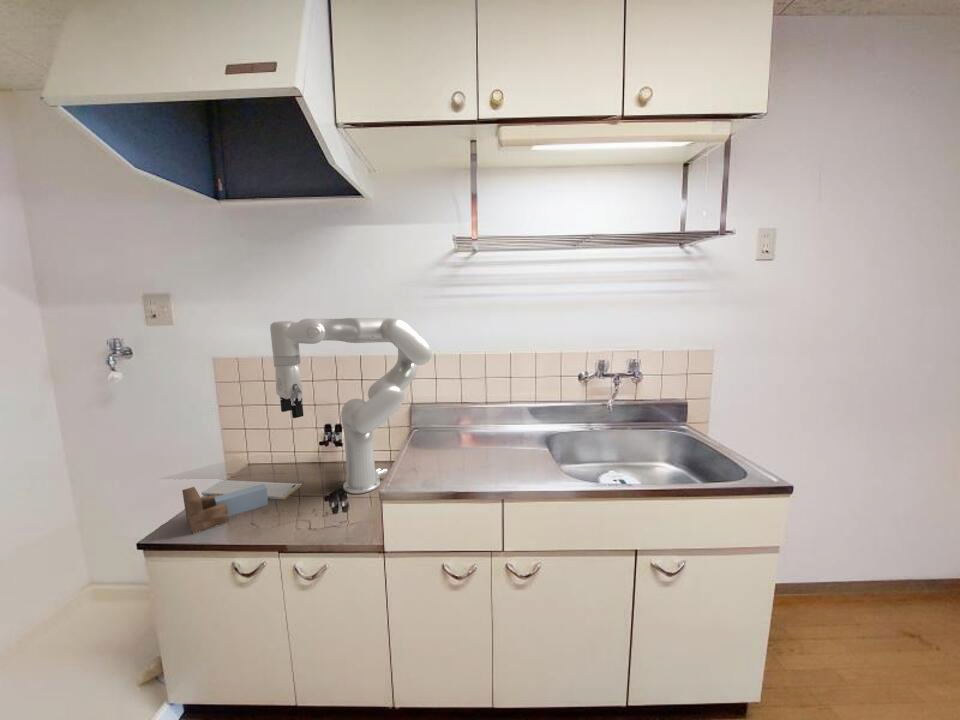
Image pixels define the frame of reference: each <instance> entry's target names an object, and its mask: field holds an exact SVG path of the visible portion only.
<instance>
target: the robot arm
mask: <svg viewBox="0 0 960 720" xmlns="http://www.w3.org/2000/svg"><path fill="white" fill-rule="evenodd" d="M269 329H270V330H269V331H270V340H271V349H272V358H273V368H275V374H274V375H275V392H276V395H278V396H279V399H280V400H279V402H280V410H281V412H283V413H284V412H290V411H291V417H292V419H297V418H302V417H304V406H303V403H304V402H303V385H302V378H301V372H300V367H299V366H302V365H301V364H302V363H301V354H300V344H303V345H304V344H306V345H307V344H308V345H315V344H318V343H320V342H322V341H333V342H334V341H336V342H345V343H349V344H352V343H353V344H366V343H367V344H369V343H370V344H371V343H391V344H393V345H394V347H396V349H397V361H396V363H395V364H394V366H393V367H391V369H390V370H388V372H387V373H385V374H384V375H383V376H381V377H380V378H379V379H378V380H376V381H374V383H372V384H371V385H370V387H369V389H368V391H367V396H368V400H367V401H365V400H363V399H361V398H351V399H349V400H347V401H346V402H345V403H344V404H343V406H342V408H341V411H340V412H341V413H340V414H341V415H340V416H341V417H340V419H341V423H342V429H343V435H344V438H343V439H344V448H345V449H344V450H345V461H346V464H345V465H346V476H347V480H346V481H344V482H343V490H344V491H345V492H347V493H348V494H355V495H356V494H357V495H358V494H364V493H369V492H371V491H374V490H375V489H377V488H378V487H379V486H380V485H381V479H380V477H381V476H383V475H386V474H387V475H388V469H387V468H386V467H385V468H383V469H381V468H380V467H379V468H375V466H376V465H375V451H374V434H373V431H375V430H376V429H378V428H379V427H381V426H382V425H383V424H384V423H385V422H386V421H387V420H388V419H390V417H392V416H393V415H395V413H396V412H397V411H399V410H400V408H401V407H402V404H403V403H404V401H405V399H404V397H405V395H404V390H405V389H406V388H407V387H408V386H409V385H410V384H411V383H412V382H413V381H414V379H415V378H416V376H417V373H418V368H419V367H418V366H422V365H425V364H427V363H429V361H430V359H431V358H432V349H431V347H430V345H429V344H428V342H427V341H426V340H424V338H422V337H421V336H420V335H419V334H418V333H417V332H416V330H414V329H413V328H412V327H411V326H410V325H409V324H408V323H406V322H405V321H404V320H402V319H400V318H391V317H348V318H347V317H345V318H344V317H343V318H304V319H301V320H299V321H297V322H295V321H292V320H284V321H283V320H282V321H281V320H280V321H274V322H271V324H270V327H269Z"/></svg>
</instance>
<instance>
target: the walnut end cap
mask: <svg viewBox="0 0 960 720" xmlns="http://www.w3.org/2000/svg"><path fill="white" fill-rule="evenodd" d="M217 496H220V495H219V493H218V494H215V495H207V496H205V497H203V498H202V497H201V496H200V494H199V492H198V490H197V489H196V487H195V486H191V487H188V488H185V489H182V497H183V503H184V510H185V517H186V522H187V524H188V526H189V528H190V531H191V530H192V531H191V532H193V533H196V532H199V531H202V530H204V531H206V530H205V529H207V530H209V529H208V528H210V529H212V528H211V527H213V528H215V527H214V526H216V525H219V524H221V525H223V524H222V523H224V524H227V523H229V522H230V520H229V517H228V511H227V505H226V503H223V504H220V505H217V506H215V499H214V497H217ZM226 522H227V523H226ZM219 526H220V525H219ZM216 527H217V526H216ZM202 532H203V531H202ZM193 533H192V534H193ZM199 533H200V532H199ZM196 534H197V533H196Z"/></svg>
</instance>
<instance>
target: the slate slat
mask: <svg viewBox="0 0 960 720" xmlns="http://www.w3.org/2000/svg"><path fill="white" fill-rule="evenodd" d="M214 499H215V506H217V505H220V504H223V503H226V505H227V511H228V518H229V517H232V516H235V514H236V515H238V514H242V513H245V512H248V511H251V510H256V509H258V508H262V507H264V506H268V505H269V500H268V497H267V488H266V486H265V485H264V484H261V485H257V486H253V487H250V488H246V489H242V490H239V491H235V492H231V493H228V494H224V495H220V496H217V497H214Z"/></svg>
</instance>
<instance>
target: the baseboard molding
mask: <svg viewBox="0 0 960 720" xmlns="http://www.w3.org/2000/svg"><path fill="white" fill-rule="evenodd" d="M302 480H303V479H301V480H300V481H299V483H290V482H289V483H288V482H270V481H269V482H268V481H267V482H266V481H251V480H250V481H248V480H229V479H228V480H227V479H226V480H219V481H218V482H217V483H215V484H214V485H212V486H210V487H208V488H207V489H205V490H203V491H202V492H201V495H202V496H204V495H205V496H212V495H215V494H218V493H219V495H224V494H228V493H231V492H235V491H239V490H242V489H246V488H250V487H253V486H257V485H261V484H264V485H265V486H266V488H267V497H268V499H270V500H286V499H287V498H288V497H290V496H291V495H292V494H293V493H295V492H296V491H297V490H298V489H299V488H301V485H302V486H303V484H304V483H305V482H304V480H303V481H302ZM300 482H301V483H300ZM289 495H290V496H289Z"/></svg>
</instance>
